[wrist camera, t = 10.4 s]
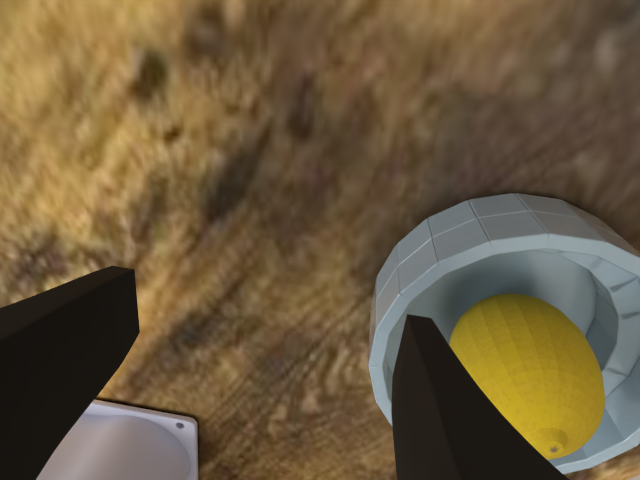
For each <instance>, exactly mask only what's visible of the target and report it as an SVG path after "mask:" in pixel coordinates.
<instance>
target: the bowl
mask: <svg viewBox="0 0 640 480" xmlns="http://www.w3.org/2000/svg"><path fill="white" fill-rule="evenodd" d="M505 293H512V294H524V295H528V296H532V297H536V298H539V299H541V300H543V301H545V302H547V303H549V304H551V305H552V306H554V307H556V308H557V309H559V310H560V311H561V312H563V313H564V314H565V315H566V316H567V317H568V318H569V319H570V320H571V321H572V322H573V323H574V324H575V325H576V326H577V327H578V328H579V329H580V330H581V332H582V333H583V334H584V336H585V337H586V339H587V341H588V343H589V345H590V347H591V348H592V350H593V352H594V354H595V356H596V358H597V361H598V363H599V366H600V369H601V373H602V378H603V385H604V392H605V407H604V412H603V416H602V420H601V423H600V425H599V427H598V428H597V430H596V431H595V433H594V435H593V436H592V438H591V439H590V440H589V441H588V442H587V443H585V444H584V445H583V446H582V447H581V448H580V449H578V450H576V451H575V452H573V453H571V454H569V455H566V456H563V457H560V458H556V459H550V460H548V461H549V462H550V463H551V464H552V465H553V466H554V467H556V468H557V469H558V470H559V471H560V472H561V473H562V474H566V473H570V472H575V471H579V470H583V469H588V468H592V467H593V466H597V465H599V464H601V463H603V462H605V461H607V460H609V459H611V458H613V457H615V456H617V455H620V454H622V453H624V452H626V451H628V450H630V449H632V448H634V447H636V446H637V445H639V444H640V252H638V251H637V250H636V249H635V248H634V247H632V246H631V245H630V244H629V243H628V242H627V241H625V240H624V239H623V238H622V237H621V236H619V235H618V234H617V233H616V232H615V231H613V230H612V229H611V228H610V227H609V226H608V225H606V224H605V223H604V222H603V221H602V220H600V219H599V218H598V217H596V216H594V215H592V214H590V213H588V212H586V211H584V210H582V209H579V208H577V207H575V206H573V205H571V204H569V203H567V202H565V201H563V200H559V199H554V198H547V197H540V196H533V195H526V194H519V193H515V194H514V193H510V194H503V195H496V196H489V197H482V198H475V199H470V200H469V201H468V200H466V201H464V202H462V203H460V204H457V205H455V206H453V207H451V208H448V209H446V210H444V211H442V212H440V213H437V214H435V215H433V216H431V217H429V218H428V219H425V220H424V221H423V222H422V223H421V224H419V225H418V226H417V227H416V228H415V229H414V230H412V231H411V232H410V233H409V234H408V235H407V236H405V237H404V238H403V239H402V240H401V241H400V242H398V243H397V245H396V246H395V247H394V249H393V250H392V252H391V254H390V255H389V257H388V259H387V260H386V262H385V264H384V265H383V267H382V269H381V270H380V272H379V274H378V276H377V278H376V283H375V288H374V294H373V299H372V304H371V315H370V340H369V372H370V377H371V382H372V386H373V391H374V396H375V400H376V402H377V404H378V406H379V407H380V409H381V410H382V412H383V413H384V415H385V416H386V418H387V419H388V421H389V423H390V424H391V426H392V415H391V405H392V376H393V371H394V367H395V363H396V359H397V354H398V350H399V346H400V342H401V337H402V333H403V329H404V325H405V320H406V316H407V314H410V315H416V316H422V317H428V318H432V320H433V321H434V323H435V324H436V326H437V327H438V329H439V330H440V332H441V333H442V335H443V336H444V338H445V340H446V341H447V343H448V344H450V339H451V334H452V331H453V329H454V327H455V326H456V324H457V322H458V320H459V318H460V317H461V316H462V315H463V314H464V313H465V312H466V311H467V310H468V309H469V308H470V307H471V306H473V305H474V304H476V303H477V302H479V301H480V300H482V299H485V298H488V297H490V296H493V295H499V294H505Z"/></svg>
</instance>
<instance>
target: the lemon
mask: <svg viewBox="0 0 640 480" xmlns="http://www.w3.org/2000/svg"><path fill="white" fill-rule="evenodd" d="M449 346H450V347H451V349H452V350H453V352H454V353H455V355H456V356H457V357H458V359H459V360H460V362H461V363H462V365H463V366H464V367H465V369H466V370H467V371H468V373H469V374H470V376H471V377H472V378H473V380H474V381H475V382H476V384H477V385H478V386H479V388H480V389H481V390H482V391H483V392H484V394H485V395H486V396H487V397H488V398H489V400H490V401H491V402H492V403H493V405H494V406H495V407H496V408H497V409H498V410H499V411H500V413H501V414H502V415H503V416H504V417H505V418H506V419H507V420H508V421H509V422H510V423H511V424H512V426H513V427H514V428H515V429H516V430H517V431H518V432H519V433H520V434H521V435H522V436H523V437H524V438H525V439H526V440H527V441H528V442H529V443H530V444H531V445H532V446H533V447H534V448H535V449H536V450H537V451H538V452H539V453H540V454H541V455H542V456H543V457H544V458H546V459H547V460H550V459H556V458H560V457H563V456H566V455H569V454H571V453H573V452H575V451H576V450H578V449H580V448H581V447H582V446H583V445H584V444H585V443H587V442H588V441H589V440H590V439H591V438H592V436H593V435H594V433H595V431H596V430H597V428H598V427H599V425H600V423H601V420H602V416H603V412H604V407H605V392H604V385H603V378H602V373H601V369H600V366H599V363H598V361H597V358H596V356H595V354H594V352H593V350H592V348H591V347H590V345H589V343H588V341H587V339H586V337H585V336H584V334H583V333H582V332H581V330H580V329H579V328H578V327H577V326H576V325H575V324H574V323H573V322H572V321H571V320H570V319H569V318H568V317H567V316H566V315H565V314H564V313H563V312H561V311H560V310H559V309H557V308H556V307H554V306H552V305H551V304H549V303H547V302H545V301H543V300H541V299H539V298H536V297H532V296H528V295H524V294H512V293H505V294H499V295H493V296H490V297H488V298H485V299H482V300H480V301H479V302H477V303H476V304H474V305H473V306H471V307H470V308H469V309H468V310H467V311H466V312H465V313H464V314H463V315H462V316H461V317H460V318H459V320H458V322H457V324H456V326H455V327H454V329H453V331H452V334H451V339H450V344H449Z"/></svg>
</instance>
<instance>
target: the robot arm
mask: <svg viewBox="0 0 640 480" xmlns="http://www.w3.org/2000/svg"><path fill="white" fill-rule="evenodd" d="M139 333H140V331H139V319H138V307H137V295H136V284H135V272H134V269H128V268H122V267H116V266H111V267H107V268H104V269H101V270H98V271H95V272H93V273H90V274H87V275H85V276H82V277H80V278H77V279H75V280H72V281H70V282H67V283H65V284H62V285H60V286H57V287H55V288H52V289H50V290H47V291H45V292H42V293H40V294H37V295H35V296H32V297H30V298H27V299H24V300H21V301H19V302H16V303H13V304H11V305H8V306H5V307H2V308H0V480H198V428H197V422H196V420H195V419H193V418H191V417H186V416H181V415H175V414H170V413H165V412H159V411H154V410H149V409H143V408H138V407H132V406H127V405H122V404H116V403H111V402H105V401H100V400H95V398H96V396H97V395H98V394H99V393H100V391H101V390H102V389H103V387H104V386H105V385H106V384H107V382H108V381H109V380H110V378H111V377H112V376H113V374H114V373H115V372H116V371H117V369H118V368H119V367H120V365H121V364H122V362H123V360H124V359H125V357H126V355H127V354H128V352H129V351H130V349H131V347H132V345H133V343H134V342H135V340H136V338H137V336H138V334H139ZM391 415H392V427H393V438H394V449H395V460H396V471H397V480H569V479H568V478H567V477H566V476H564V475H563V474H562V473H561V472H560V471H559V470H558V469H557V468H556V467H554V466H553V465H552V464H551V463H550V462H549V461H548V460H547V459H546V458H544V457H543V456H542V455H541V454H540V453H539V452H538V451H537V450H536V449H535V448H534V447H533V446H532V445H531V444H530V443H529V442H528V441H527V440H526V439H525V438H524V437H523V436H522V435H521V434H520V433H519V432H518V431H517V430H516V429H515V428H514V427H513V426H512V424H511V423H510V422H509V421H508V420H507V419H506V418H505V417H504V416H503V415H502V414H501V413H500V411H499V410H498V409H497V408H496V407H495V406H494V405H493V403H492V402H491V401H490V400H489V398H488V397H487V396H486V395H485V394H484V392H483V391H482V390H481V389H480V388H479V386H478V385H477V384H476V382H475V381H474V380H473V378H472V377H471V376H470V374H469V373H468V371H467V370H466V369H465V367H464V366H463V365H462V363H461V362H460V360H459V359H458V357H457V356H456V355H455V353H454V352H453V350H452V349H451V347H450V346H449V344H448V343H447V341H446V340H445V338H444V336H443V335H442V333H441V332H440V330H439V329H438V327H437V326H436V324H435V323H434V321H433V320H432V318H428V317H422V316H416V315H410V314H407V316H406V320H405V325H404V329H403V333H402V337H401V342H400V346H399V350H398V354H397V359H396V363H395V367H394V371H393V376H392V405H391Z"/></svg>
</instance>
